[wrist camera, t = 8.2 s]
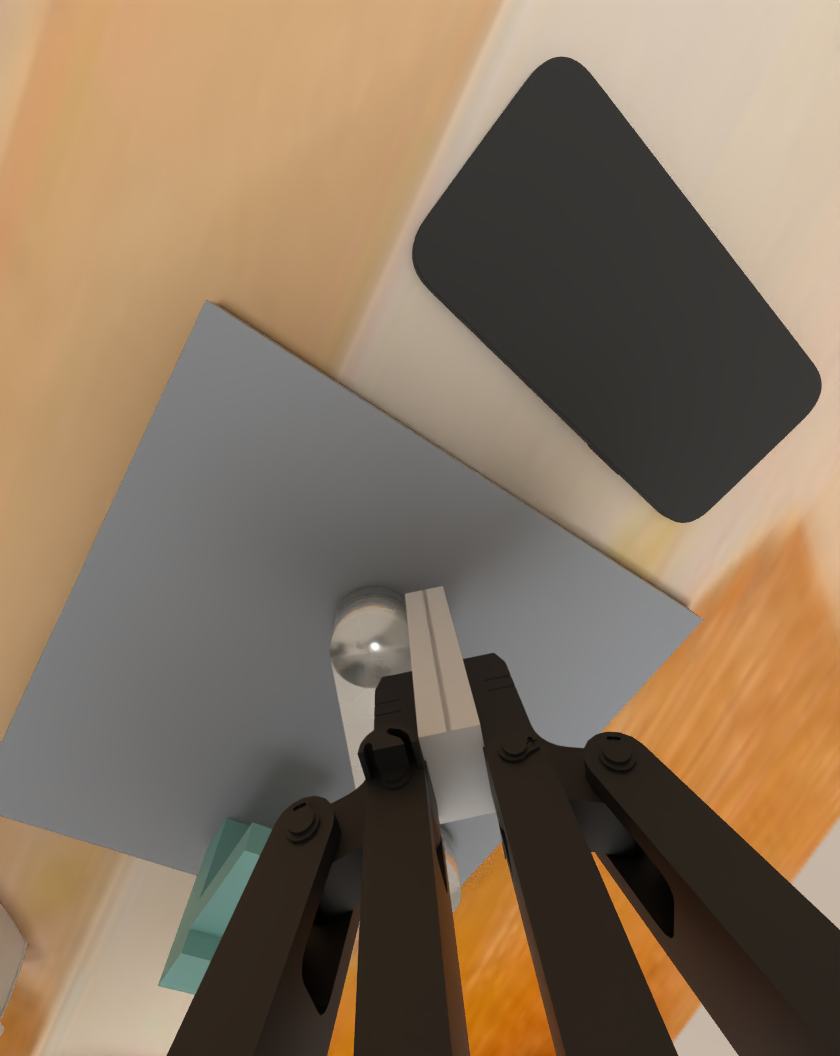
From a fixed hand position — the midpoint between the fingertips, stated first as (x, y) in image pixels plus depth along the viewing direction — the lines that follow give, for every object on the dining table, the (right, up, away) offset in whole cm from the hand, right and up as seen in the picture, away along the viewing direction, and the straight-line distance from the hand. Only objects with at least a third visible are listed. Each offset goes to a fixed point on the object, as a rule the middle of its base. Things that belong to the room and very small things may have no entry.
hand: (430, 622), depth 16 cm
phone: (+7, +11, 0) cm, 13 cm away
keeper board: (-4, -4, +4) cm, 7 cm away
